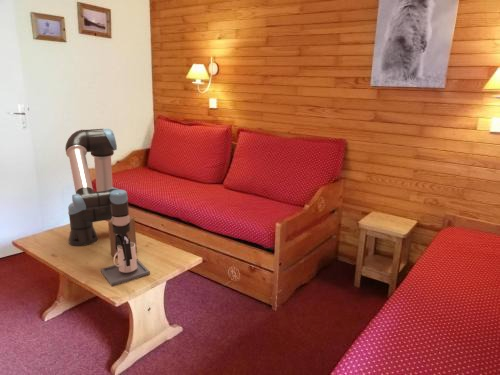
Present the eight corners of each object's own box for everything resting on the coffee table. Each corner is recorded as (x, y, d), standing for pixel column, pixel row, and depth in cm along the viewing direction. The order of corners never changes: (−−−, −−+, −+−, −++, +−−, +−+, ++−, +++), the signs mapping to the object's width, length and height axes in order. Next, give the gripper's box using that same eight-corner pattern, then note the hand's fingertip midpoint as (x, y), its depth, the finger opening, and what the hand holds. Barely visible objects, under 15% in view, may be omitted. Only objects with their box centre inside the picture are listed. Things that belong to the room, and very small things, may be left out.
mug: (119, 277, 170) (117, 253, 167) (109, 271, 176) (106, 248, 172) (141, 267, 179) (139, 244, 176) (130, 262, 184) (128, 240, 181)
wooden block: (128, 258, 193) (125, 222, 187) (110, 256, 195) (107, 221, 189) (137, 250, 202) (135, 216, 197) (120, 248, 204) (117, 214, 198)
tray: (100, 272, 179) (100, 268, 179) (137, 261, 190) (137, 258, 189) (111, 286, 167) (111, 282, 166) (149, 274, 178) (149, 271, 177)
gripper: (105, 218, 177) (109, 261, 183) (120, 232, 161) (124, 279, 167) (121, 215, 181) (124, 257, 188) (137, 228, 166) (140, 274, 172)
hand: (124, 267), depth 177 cm, fingers closed on mug, 8 cm apart
